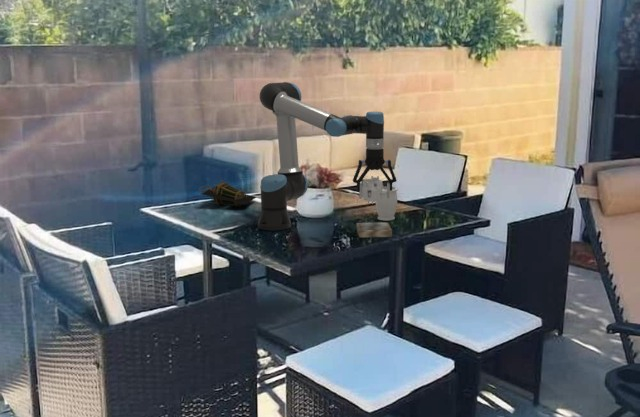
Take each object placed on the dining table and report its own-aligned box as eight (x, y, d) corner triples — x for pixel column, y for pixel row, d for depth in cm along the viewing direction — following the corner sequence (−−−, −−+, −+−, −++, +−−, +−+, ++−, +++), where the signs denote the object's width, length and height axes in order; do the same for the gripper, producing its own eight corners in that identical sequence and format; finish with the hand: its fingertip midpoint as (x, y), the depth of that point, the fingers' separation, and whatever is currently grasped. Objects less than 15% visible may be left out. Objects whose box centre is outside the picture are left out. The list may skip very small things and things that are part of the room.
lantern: (241, 218, 342) (187, 201, 346) (253, 213, 365) (201, 196, 368) (248, 192, 340) (193, 175, 344) (259, 189, 363) (208, 173, 366)
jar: (395, 221, 316) (396, 190, 313) (373, 221, 318) (374, 189, 315) (397, 216, 326) (398, 186, 323) (376, 216, 328) (377, 185, 325)
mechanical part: (391, 201, 295) (391, 175, 292) (380, 206, 284) (381, 179, 282) (367, 199, 300) (367, 173, 297) (356, 204, 290) (356, 177, 287)
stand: (359, 237, 288) (359, 229, 287) (356, 229, 302) (356, 222, 301) (391, 236, 289) (392, 229, 288) (387, 229, 302) (387, 221, 302)
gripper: (347, 149, 283) (347, 200, 288) (403, 148, 284) (403, 199, 289) (346, 147, 290) (346, 196, 295) (401, 146, 291) (400, 196, 296)
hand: (374, 198), depth 292 cm, fingers closed on mechanical part, 11 cm apart
